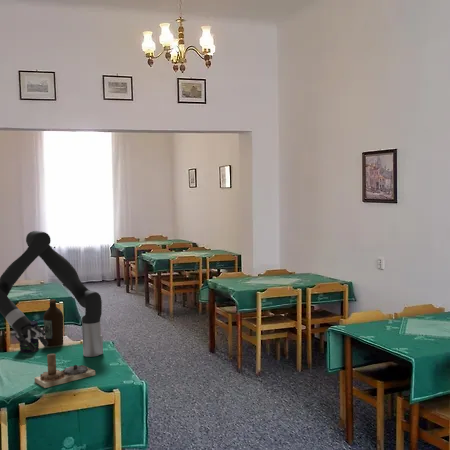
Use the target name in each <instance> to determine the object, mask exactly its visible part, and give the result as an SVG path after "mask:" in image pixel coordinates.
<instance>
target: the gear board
mask: <svg viewBox="0 0 450 450" xmlns="http://www.w3.org/2000/svg"><path fill="white" fill-rule="evenodd" d="M62 371H63V373H64V377H61V379H55V380H48V381H45V380H41V377H40V375H38V376H35V377H34V383H35V384H37V385H39V386H40V387H42V388H44V389H46V388H51V387H55V386H58V385H62V384H66V383H70V382H73V381H77V380H82V379H85V378H89V377H92V376H93V377H94V376H96V370H94V369H92V368H90V367H88V366H86V365H78V364H75V365H73V366H72V365H71V366H69V367H65V368H64V369H62Z"/></svg>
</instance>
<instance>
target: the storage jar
mask: <svg viewBox="0 0 450 450" xmlns="http://www.w3.org/2000/svg"><path fill="white" fill-rule="evenodd" d="M29 321H30V322H31V326H32V327H33V328H34V327H36V326H39V325H38V321H36V320H29ZM35 336H36V335H35ZM30 341H31V342H32V344H33V345H34V346H35V347H36V350H35V351H33V352H32V351H31V350H30V349H29V347H28V346H26V345H24V346H22V345H21V344H20V343H19V352H20V353H23V354H25V353H26V354H29V353H30V354H31V353H35V352H37V351H39V350H40V346H39V345H40V340H38V339H34V338H32V339H30ZM22 342H24V341H23V340H22ZM31 342H30V343H31Z"/></svg>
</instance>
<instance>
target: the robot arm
mask: <svg viewBox="0 0 450 450" xmlns="http://www.w3.org/2000/svg"><path fill="white" fill-rule="evenodd" d="M51 241H52V240H51V236H50V235H49V234H48V233H47V232H46V231H42V230H41V231H39V230H32V231H30V232H29V233H28V234H26V238H25V243H26V245H27V246H28V247H27V248H26V250H24V252H23V253H22V254H21V255H20V256H18V257H17V258H16V259H15V260H14V261H12V262H11V263H10V265H8V267H6V269H5V270H4V271H3V272H2V274H0V275H1V276H0V314H1V316H3V318H4V319H5V321H6V322H7V323H8V325H9V326H10V327H11V328H12V330H13V331H14V332H15V333H16V335H15V338H16V340H17V341H18V343H19V345H20V344H21V345H22V346H24V345H26V346H28V347H29V349H30V350H31V351H32V352H31V353H34V352H33V351H35V350H36V347H35V346H34V345H33V344H32V342H31V341H30V339H32V338H34V339H38V340H39V343H41V344H42V345H43V346H44V347H48V346H47V345H48V342H47V340H46V339H45V335H46V334H45V331H43V329H42V328H41V327H40V326H39V325H38V326H36V327H34V328H33V327H32V326H31V322H30V321H31V320H30V319H29V318H28V317H27V316H26V315H25V314H24V312H23V311H22V310H21V309H19V307H18V306H17V305H16V304H15V303H14V302H13V301H12V300H11V299H10V298H9V296H8V295H9V294H10V293H11V290H12V288H13V286H14V285H15V284H16V283H17V281H18V280H19V278H20V277H21V276H22V275H23V274H24V272H25V271H26V270H27V269H28V268H29V267H30V265H31V264H32V263H33V262H34V261H36V259H37V258H38V257H39V258H40V259H41V260H42V261H43V263H44V264H45V265H46V266H47V267H48V268H49V269H50V270H49V271H51V272H52V273H53V275H54V276H55V277H56V278H57V279H58V280H59V281H60V282H61V283H62V285H64V286H65V288H66V289H67V290H68V291H70V293H71V294H72V296H73V297H74V298H75V300H76V302H77V303H78V304H79V306H81V307H82V308H84V310H85V311H84V312H85V313H84V315H83V316H82V317H81V324H82V325H81V330H82V353H83V354H82V355H83V356H84V357H85V358H86V357H87V358H90V357H98V356H100V355H103V354H104V341H103V335H102V333H101V332H102V331H101V317H102V310H103V309H102V308H103V307H102V303H103V301H102V296H101V294H100V293H99V292H97V291H94V290H93V291H92V290H90V289H89V288H87V286H86V285H84V283H82V282H81V278H79V277H80V276H79V274H78V272H77V270H76V268H74V266H73V265H72V263H71V262H69V260H68V259H66V258H65V257H64V256H62V255H61V254H60V253H59V252H57V251H56V250H54V249H53V247H52V246H51ZM35 335H36V336H35ZM22 340H23V341H24V342H22ZM30 342H31V343H30ZM35 352H36V351H35Z"/></svg>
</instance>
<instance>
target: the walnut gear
mask: <svg viewBox="0 0 450 450" xmlns="http://www.w3.org/2000/svg"><path fill="white" fill-rule="evenodd" d="M56 357H57V354H56V353H48V354H47V355H46V358H47V359H46V361H47V371H43V373H41V374H40V375H39V376H40V377H41V380H45V381H48V380H55V379H61V377H64V373H63V370H60V369H59V370H58V369H57V360H56V359H57V358H56Z"/></svg>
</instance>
